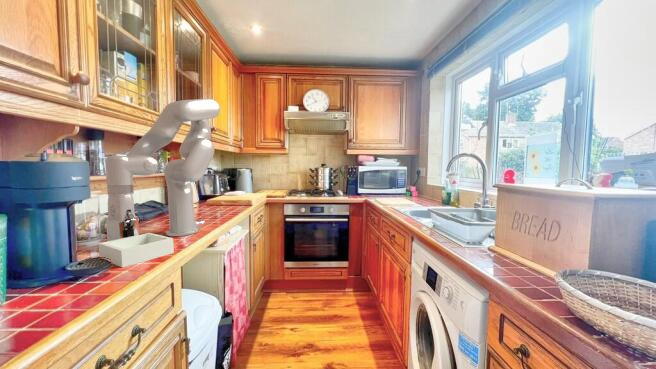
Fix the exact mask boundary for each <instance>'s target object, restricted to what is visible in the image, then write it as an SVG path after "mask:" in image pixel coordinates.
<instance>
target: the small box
mask: <svg viewBox="0 0 656 369" xmlns="http://www.w3.org/2000/svg"><path fill="white" fill-rule="evenodd" d="M135 220H136V221H135V223H134V224H135V225H134V236H136V235H140V226H139V224H140V223H139V216H137V215H135ZM125 221H129V220H125ZM105 224H106V238H107V239H106V240H107V241H112V240H117V239H122V238H123V230H124V227H123V222H122V223H119V222H118V220H114V219H110V220H108V219H106V220H105ZM127 224H128V223H126V226H127ZM107 241H106V242H107Z"/></svg>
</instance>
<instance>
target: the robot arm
mask: <svg viewBox="0 0 656 369" xmlns="http://www.w3.org/2000/svg"><path fill="white" fill-rule="evenodd" d="M220 113H221V105H220V104H219V102H218V101H217V100H216V99H213V98H208V97H207V98H198V99H197V98H196V99H182V100H177V101H173V102H169V103H167V105H166V106H164V108H163V109H162V111H161V113H160V114H159V116H158V117H157V119H156V120H155V122H154V123H153V125H152V126H151V128H150V129H149V130H148V131H147V132H146V133H144V135H142V137H141V138H139V139H138V140H137V141H136V142H135V144H134V145H132V148H130V150H129V152H128V153H127V154H126V155H109V156H107V157H106V158H105V161H104V162H105V174H106V187H107V188H106V193H107V196H108V197H107V220H110V219H114V220H118V222H119V223H122V222H123V227H124V230H123V238H127V237H131V236H134V225H135V224H134V223H135V221H136V220H135V216H136V210H135V201H134V196H133V195H134V194H135V193H134V192H135V191H134V179H133V178H134V177H133V176H144V177H145V176H151V175H154V174H155V173H156V172H157V171H158V169H159V162H158V161H157V159H155V158H154V157H153V155H154V154H155V153H156V152H157V151H159V150H160V149H162V148H164V147H165V146H168V145H169V144H170V143H172V142H173V140H174V139H175V137H176V135H177V134H178V132H179V130H180V129H181V127H182V126H183V125H184V123H187V122H190V128H189V130H188V133H187V134H186V135H185V138H184V140H182V142H181V144H180V147H179V148H178V149H179V151H178V152H179V155H180V156H181V157H182V158H180V159H178V158H177V159H172V160H170V161H168V162H167V163H166V164H165V166H164V168H163V169H164V171H163V174H164V180H165V182H166V189H167V204H168V206H167V208H168V228H169V229H167V230H166V231H165V236H166V237H168V236H169V237H183V236H189V235H193V234H196V233H198V232H199V231H200V230H199V226H202V225H205V220H195V211H194V210H195V209H194V208H195V207H194V191H193V186H192V184H191V183H195V182H199V181H200V180H201V179H202V178H203V177H204V175H205V173H206V172H207V170H208V168H209V166H210V164H211V162H212V160H213V157H214V156H215V144H214V143H213V142H212V141H211V140H210V136H211V126H210V122H209V121H208V120H209V119H216V118H217V117H218V116H219V115H220ZM125 220H129V221H125ZM126 223H128V224H127V226H126Z"/></svg>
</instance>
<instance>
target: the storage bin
mask: <svg viewBox="0 0 656 369" xmlns="http://www.w3.org/2000/svg"><path fill="white" fill-rule="evenodd" d="M97 245H98V255H99V256H98V258H99V257H106V258H109V259H111V261H112V263H113V264H112V263H111V264H112V265H114V264H115V266H117V267H121V268H125V267H129V266H133V265H136V264H140V263H143V262H146V261H147V262H148V261H150V260H154V259H157V258H161V257H165V256H167V255H171V254H174V252H175V250H174V249H175V248H174V238H173V237H171V236H169V237H168V236H166V235H161V234H156V233H151V232H146V233H143V234H139V235H136V236H131V237H127V238H122V239H117V240H112V241H103V242H99V243H98V244H97Z"/></svg>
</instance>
